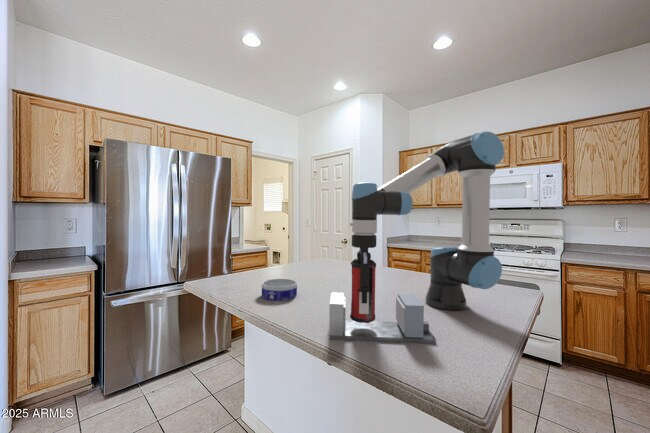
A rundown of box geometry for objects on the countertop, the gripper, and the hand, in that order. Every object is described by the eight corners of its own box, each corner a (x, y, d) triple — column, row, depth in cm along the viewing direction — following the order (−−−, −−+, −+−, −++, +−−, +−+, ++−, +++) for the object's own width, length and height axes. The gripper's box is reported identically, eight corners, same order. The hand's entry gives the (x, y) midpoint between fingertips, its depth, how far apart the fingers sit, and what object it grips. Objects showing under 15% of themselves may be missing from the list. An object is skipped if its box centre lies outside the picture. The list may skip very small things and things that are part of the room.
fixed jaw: (345, 320, 93) (345, 292, 93) (345, 335, 81) (345, 304, 81) (331, 319, 94) (331, 292, 94) (329, 335, 82) (329, 303, 82)
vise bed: (424, 326, 92) (424, 322, 92) (436, 343, 80) (436, 339, 80) (331, 323, 94) (331, 319, 94) (329, 339, 82) (329, 335, 82)
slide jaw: (422, 321, 92) (422, 294, 92) (434, 338, 80) (434, 306, 80) (395, 320, 92) (395, 293, 92) (403, 336, 80) (403, 305, 80)
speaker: (349, 314, 91) (350, 257, 91) (373, 314, 91) (374, 258, 90) (350, 323, 83) (351, 262, 83) (376, 324, 83) (377, 262, 83)
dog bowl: (301, 292, 130) (301, 279, 130) (289, 302, 115) (289, 287, 115) (270, 290, 134) (270, 277, 133) (255, 299, 119) (255, 285, 119)
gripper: (350, 231, 97) (350, 298, 97) (352, 236, 77) (351, 320, 77) (373, 232, 96) (372, 299, 97) (380, 236, 76) (379, 321, 77)
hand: (362, 308), depth 87 cm, fingers closed on speaker, 7 cm apart
